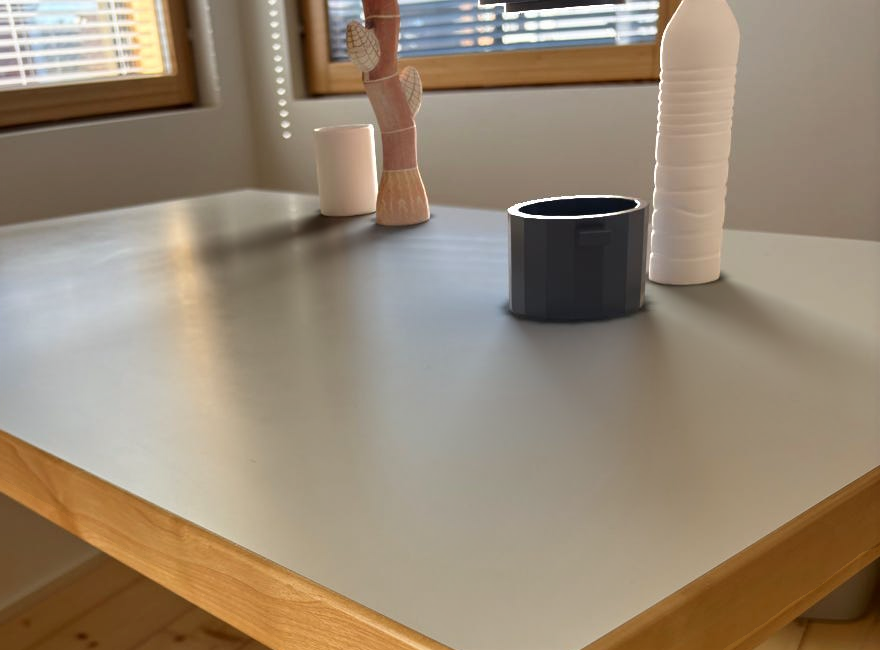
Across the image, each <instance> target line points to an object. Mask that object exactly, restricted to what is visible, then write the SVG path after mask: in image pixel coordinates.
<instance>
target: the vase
mask: <svg viewBox="0 0 880 650" xmlns="http://www.w3.org/2000/svg"><path fill="white" fill-rule="evenodd" d="M361 5H362V9H363V16H364V25H363V24H362V23H360V22H359V21H357V20H354V19H353V20H351V21H349V22H348V23H347V24H346V29H345V43H346V44H345V46H346V53H347V57H348V59H349V60H350V62H351V63H352V64H353V65H354V66H355V67H356V68H358V69H359V70H360V71H361V82H362V85H363V88H364V91H365V92H366V96H367V98H368V100H369V103H370V105H371V108H372V110H373V113H374V115H375V119H376V122H377V125H378V129H379V131H380V136H381V147H382V148H381V149H382V173H381V176H380V180H379V185H378V194H377V201H376V211H375V221H376V224H377V225H381V226H384V227H385V226H386V227H388V226H389V227H391V226H393V227H395V226H398V227H401V226H411V225H417V224H422V223H425V222H428V221H429V220H430V218H431V214H430V213H431V212H430V206H429V199H428V196H427V192H426V187H425V185H424V183H423V179H422V177H421V173H420V169H419V166H418V165H419V164H418V152H417V151H418V150H417V149H418V145H417V142H418V141H417V137H418V135H417V125H416V121H415V117H416V116H417V115H418V113H419V111H420V108H421V105H422V103H423V85H422V81H421V77H420V74H419V72H418V70H417V69H416V67H415V66H413V65H408V66H406V67H404V68H403V70H402V71H400V74H399V73H398V49H399V38H400V29H401V17H402V16H401V10H400V4H399V1H398V0H361Z"/></svg>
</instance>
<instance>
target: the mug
mask: <svg viewBox="0 0 880 650" xmlns="http://www.w3.org/2000/svg"><path fill="white" fill-rule="evenodd" d="M312 135H313V145H314V155H315V164H316V165H315V167H316V174H317V184H318V185H317V186H318V196H319V208H320V209H319V210H320V213H321V215H322V216H326V217H353V216H362V215H367V214H372V213H376V201H377V194H378V189H379V187H378V178H377V177H378V176H377V175H378V174H377V163H376V151H375V150H376V149H375V138H374V137H375V136H374V127H373V125H372V124H364V123H363V124H345V125H332V126H324V127H319V128H315V129H313V131H312Z"/></svg>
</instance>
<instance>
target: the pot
mask: <svg viewBox="0 0 880 650" xmlns="http://www.w3.org/2000/svg"><path fill="white" fill-rule="evenodd" d="M649 218H650V203H649V202H648V201H646V200H645V199H644V198H643V199H642V198H639V197H638V198H637V197H631V196H623V195H575V196H572V195H571V196H561V197H559V196H558V197H551V198H543V199H537V200H531V201H527V202H523V203H518V204H515V205H514V206H511V207H510V208H508V209H507V243H508V244H507V251H508V252H507V255H508V257H507V258H508V259H507V261H508V305H509V311H510V312H511V313H512V314H513V315H515V316H517V317H520V318H523V319H527V320H531V321H538V322H548V323H587V322H599V321H607V320H612V319H616V318H622V317H625V316H628V315H631V314H633V313H636V312H638V311H639V310H640V309H642V308H643V306H644V302H645V296H646V295H645V294H646V277H647V276H646V275H647V257H648V256H647V255H648V240H649V239H648V237H649Z"/></svg>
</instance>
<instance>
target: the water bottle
mask: <svg viewBox="0 0 880 650" xmlns="http://www.w3.org/2000/svg"><path fill="white" fill-rule="evenodd" d="M740 36H741V34H740V28H739V24H738V21H737V19H736V17H735V15H734V13H733V11H732V9H731V8H730V5H729V4H728V2H727V0H681V2H680V4H679V5H678V7H677V9H676V10H675V12H674V14H673V15H672V17H671V19H670V20H669V22H668V23H667V25H666V27H665V29H664V32H663V35H662V37H661V38H662V39H661V45H660V70H661V71H660V72H659V79H660V82H659V87H658V89H659V93H658V100H659V103H658V106H657V109H658V114H657V121H658V123H657V125H656V131H657V134H656V141H655V157H654V158H655V161H656V164H655V166H654V173H653V175H654V177H653V182H654V187H655V188H654V190H653V194H652V195H653V196H652V207H653V213H652V216H651V227H652V231H651V236H650V251H651V253H650V255H649V267H648V279H649V280H650V281H651V282H654V283H658V284H663V285H673V286H675V285H676V286H686V285H687V286H688V285H700V284H706V283H709V282H710V283H711V282H715V281H716V280H718V279H719V278H720V274H721V263H722V253H721V252H722V251H721V249H722V246H723V239H724V229H723V226H724V223H725V217H726V216H725V215H726V200H725V198H726V197H727V194H728V193H727V192H728V189H727V188H728V187H727V185H726V184H727V182H728V178H729V169H730V168H729V167H730V164H729V163H730V162H729V157H730V154H731V146H732V130H731V129H732V127H733V119H732V117H734V109H733V107H734V105H735V99H734V96H735V94H736V88H735V85H736V83H737V78H736V75H737V72H738V67H737V64H738V59H739V52H740V43H741V37H740Z"/></svg>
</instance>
